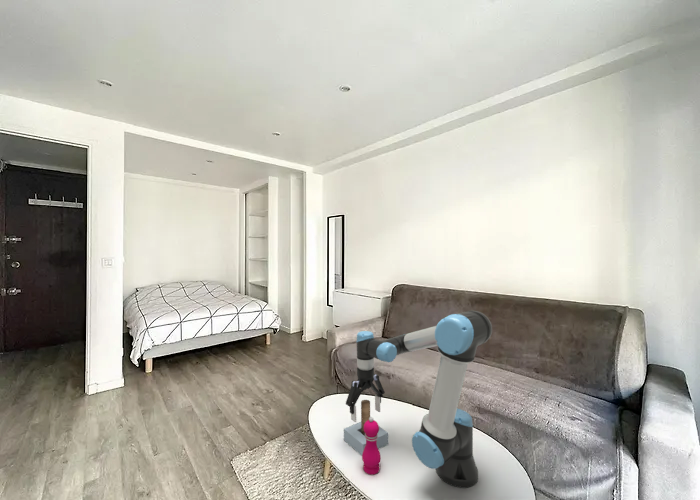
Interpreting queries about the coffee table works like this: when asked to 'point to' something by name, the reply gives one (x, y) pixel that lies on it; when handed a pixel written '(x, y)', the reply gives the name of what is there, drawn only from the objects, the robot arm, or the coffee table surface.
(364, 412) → the dowel
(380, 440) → the bore block
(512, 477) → the coffee table surface
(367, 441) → the pepper mill
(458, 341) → the robot arm
